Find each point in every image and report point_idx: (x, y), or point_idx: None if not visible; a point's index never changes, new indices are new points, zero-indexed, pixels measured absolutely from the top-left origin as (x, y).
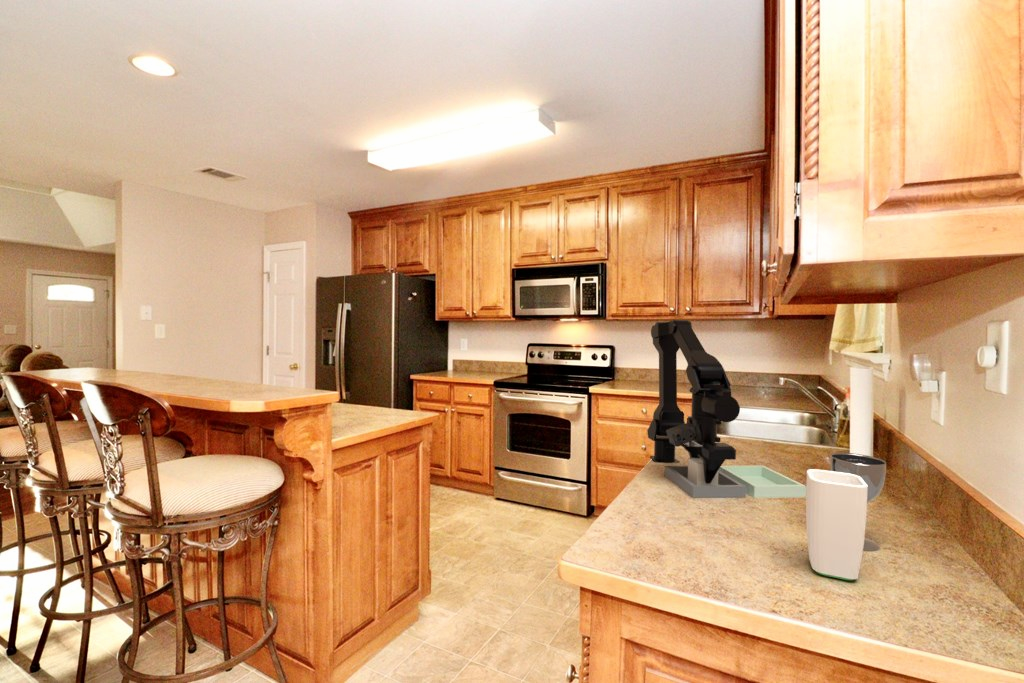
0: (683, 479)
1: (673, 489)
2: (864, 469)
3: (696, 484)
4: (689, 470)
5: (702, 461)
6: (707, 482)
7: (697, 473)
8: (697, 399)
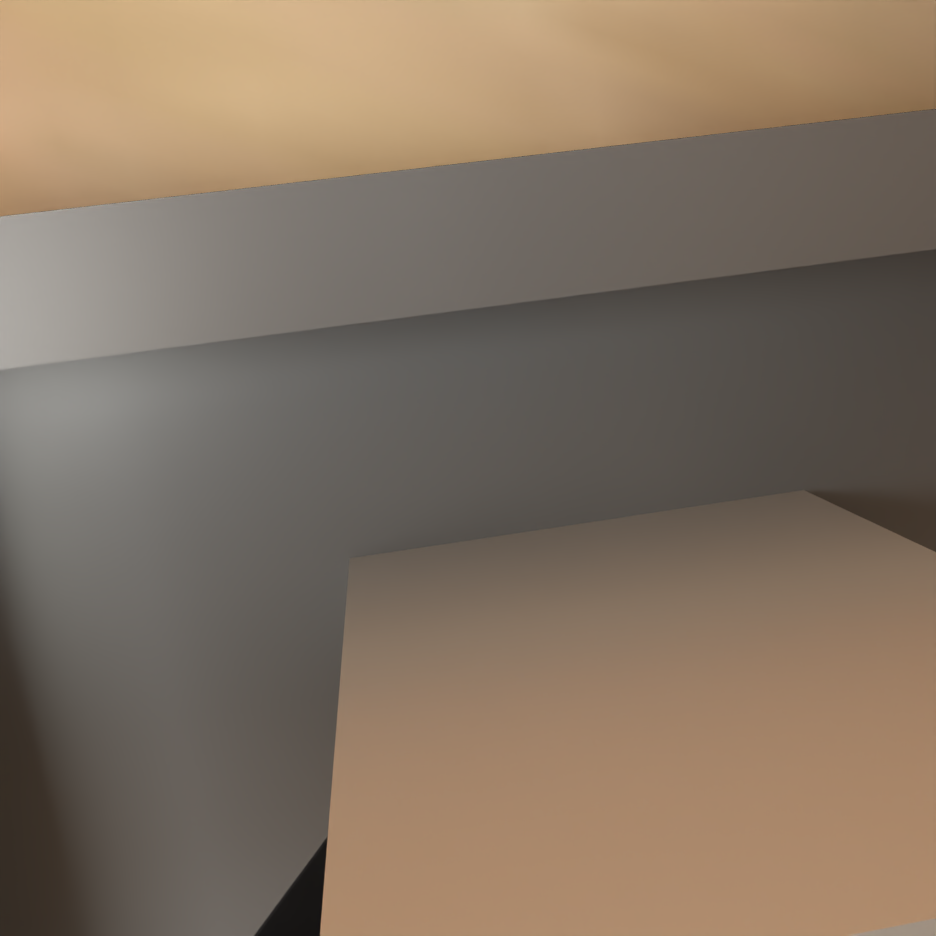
0: (196, 194)
1: (443, 58)
2: None
3: (385, 588)
4: (900, 606)
5: None
6: None
7: (339, 739)
8: None
